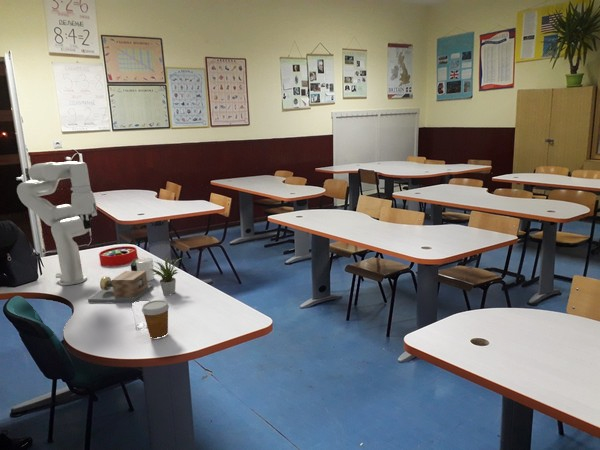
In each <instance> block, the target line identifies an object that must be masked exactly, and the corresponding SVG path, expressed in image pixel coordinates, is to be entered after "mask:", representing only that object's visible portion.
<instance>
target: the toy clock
mask: <svg viewBox="0 0 600 450" xmlns="http://www.w3.org/2000/svg"><path fill="white" fill-rule="evenodd" d="M98 256H99V264H100V265H101V266H103V267H117V266H118V267H119V266H124V265H128V264H129V265H130V264H131V263H132V261H133V260H134V259H139V258H138V250H137V247H135V246H130V245H129V246H127V245H126V246H124V245H123V246H117V247H111V248H107V249H104V250H102V251H100V252H99V253H98Z"/></svg>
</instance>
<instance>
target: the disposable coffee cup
mask: <svg viewBox="0 0 600 450" xmlns="http://www.w3.org/2000/svg"><path fill="white" fill-rule="evenodd" d="M169 308H170V305H169V303H168V301H166V300H161V299H156V300H151V301H148V302H146V303H144V304H143V305H142V309H141V312H142V314H143V317H144V320H145V323H146V327H147V330H148V334H149V337H152V338H157V337H162V336H164V335H166V334H167V333H168V334H169ZM152 338H151V339H152Z"/></svg>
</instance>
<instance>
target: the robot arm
mask: <svg viewBox="0 0 600 450" xmlns="http://www.w3.org/2000/svg"><path fill="white" fill-rule="evenodd" d="M27 173H28V176H29V178H31V180H26V181H23V182H20V183H19V184H18V185H17V187H16V193H17V196H18V198H19V200H20V201H21V203H22V204H23V205H24V206H25V207H26V208H28V209H29V210H31V211H32V212H33V213H34V214H35V215H36V216H37V217H38V218H39V219H40V220H41V221H43V222H44V224H45V225H47V226H50V231H51V234H52V237H53V240H54V242H55V246H56V251H57V257H58V262H59V268H60V272H57V273H56V274H55V278H56V279H59V283H58V284H59V285H61V286H72V285H78V284H80V283H83V282H85V281H87V279H88V277H87V276H86V275H85V274H83V267H82V263H81V262H82V260H81V256H80V255H81V254H80V248H79V246H78V243H77V242H76V241H74V239H73V238H75V237H79V236H82V235H85V234H87V233H88V232H89V231H90V229H91V228H92V219H93V218H94V217H95V216H98V212H97V211H98V207H97V202H96V198H95V196H94V193H93V191H92V188H91V183H90V177H89V176H90V175H89V168H88V165H87V163H86V162H84V161H79V162H78V161H75V160H73V161H72V160H71V161H64V162H63V161H62V162H55V161H54V162H53V161H49V162H42V163H41V162H40V163H35V164H32V166H29V169H28V171H27ZM66 179H70V182H71V187H70V191H72V193H71V194H70V195H71V199H70V201H71V202H70V203H71V204H70V203H69V204H68V203H65V204H60V205H53V204H52V203H51V202H50V201H49V200H48V199H46V198H43V197H42V196H46V195H47V196H48V195H51V194H54V193H55V192H56V190H57V187H58V185H59V182H60V180H61V181H62V180H66Z"/></svg>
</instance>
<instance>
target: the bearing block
mask: <svg viewBox="0 0 600 450" xmlns="http://www.w3.org/2000/svg"><path fill="white" fill-rule="evenodd" d="M111 280H112V284H113V291H114V297H136V296H137V295H139V294H140V293H141V292H142V291H144V290H145V289H146V288H148V285H149V284H148V281H147V277H146V271H138V270H137V271H131V270H124V271H123V272H121V273H120V274H119V275H117V276H115V277H114V278H113V279H111ZM139 280H142V286H141V287H139V284H138V281H139Z"/></svg>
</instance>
